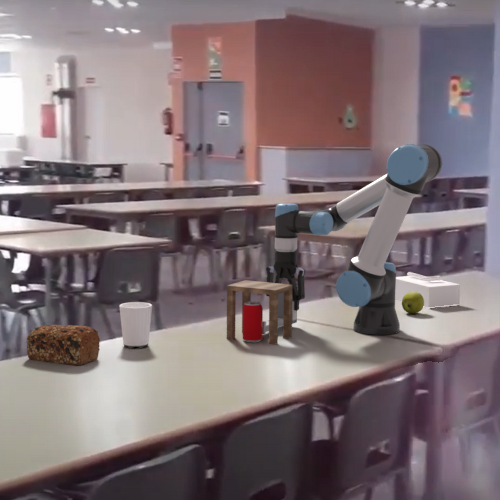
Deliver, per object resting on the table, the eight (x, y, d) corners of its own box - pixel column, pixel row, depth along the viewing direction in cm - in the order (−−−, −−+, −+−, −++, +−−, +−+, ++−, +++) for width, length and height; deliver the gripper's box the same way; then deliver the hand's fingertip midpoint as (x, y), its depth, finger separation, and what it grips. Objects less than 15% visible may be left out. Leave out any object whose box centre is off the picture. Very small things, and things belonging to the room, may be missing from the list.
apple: (427, 312, 336) (428, 291, 335) (417, 316, 329) (418, 294, 328) (407, 310, 340) (408, 289, 339) (397, 314, 333) (398, 292, 332)
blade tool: (296, 322, 310) (297, 286, 308) (264, 334, 290) (264, 296, 288) (280, 320, 313) (281, 285, 311) (247, 332, 293) (248, 294, 291)
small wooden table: (291, 337, 294) (292, 284, 292) (274, 344, 283) (275, 290, 281) (244, 331, 302) (245, 280, 300) (226, 338, 291) (226, 285, 289)
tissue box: (428, 309, 343) (429, 280, 342) (389, 298, 366) (390, 271, 364) (459, 307, 350) (460, 278, 348) (419, 296, 372) (420, 269, 371)
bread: (101, 359, 264) (100, 325, 263) (78, 367, 254) (77, 332, 253) (48, 352, 272) (48, 318, 271) (24, 359, 263) (24, 325, 261)
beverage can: (262, 338, 291) (263, 301, 290) (261, 343, 285) (262, 305, 284) (243, 338, 292) (243, 301, 290) (241, 342, 286) (242, 304, 284)
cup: (158, 344, 282) (158, 303, 281) (141, 351, 273) (141, 309, 272) (130, 341, 286) (130, 300, 285) (113, 347, 278) (112, 306, 276)
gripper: (316, 251, 304) (315, 319, 307) (266, 246, 313) (265, 313, 316) (306, 253, 297) (305, 323, 300) (255, 249, 307) (254, 317, 310)
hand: (284, 318), depth 308 cm, fingers closed on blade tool, 6 cm apart
